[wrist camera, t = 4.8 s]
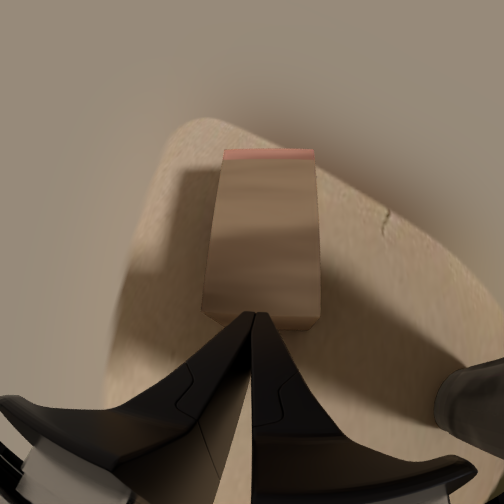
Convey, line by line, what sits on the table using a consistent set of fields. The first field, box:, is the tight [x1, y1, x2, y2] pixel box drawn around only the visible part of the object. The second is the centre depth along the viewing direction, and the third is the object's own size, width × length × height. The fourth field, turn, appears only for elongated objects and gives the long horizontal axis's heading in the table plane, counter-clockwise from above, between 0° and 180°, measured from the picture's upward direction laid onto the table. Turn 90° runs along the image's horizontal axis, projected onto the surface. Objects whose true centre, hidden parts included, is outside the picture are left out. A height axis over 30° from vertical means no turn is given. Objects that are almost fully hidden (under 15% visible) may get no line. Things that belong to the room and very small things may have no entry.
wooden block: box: [201, 149, 321, 330], centre depth 15 cm, size 5×5×9 cm
